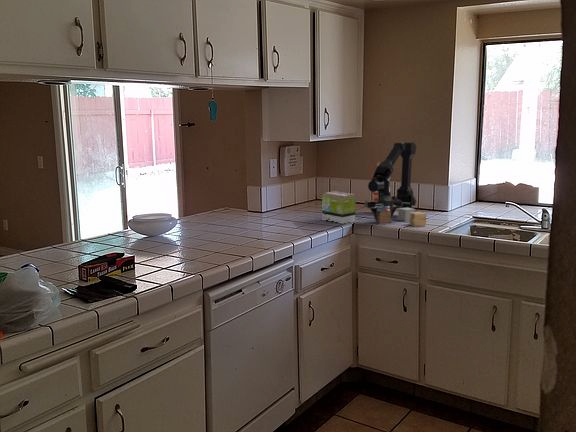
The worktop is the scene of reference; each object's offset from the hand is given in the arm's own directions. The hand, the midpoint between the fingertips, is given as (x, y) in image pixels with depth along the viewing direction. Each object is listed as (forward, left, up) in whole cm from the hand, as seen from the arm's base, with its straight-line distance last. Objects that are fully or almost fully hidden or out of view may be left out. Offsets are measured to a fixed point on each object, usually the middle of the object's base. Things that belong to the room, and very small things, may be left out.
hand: (383, 220), depth 297 cm
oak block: (+11, +14, -1) cm, 18 cm away
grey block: (-3, +14, -1) cm, 14 cm away
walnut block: (0, 0, -1) cm, 1 cm away
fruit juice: (-26, +9, -1) cm, 28 cm away
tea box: (-9, -21, -1) cm, 23 cm away
